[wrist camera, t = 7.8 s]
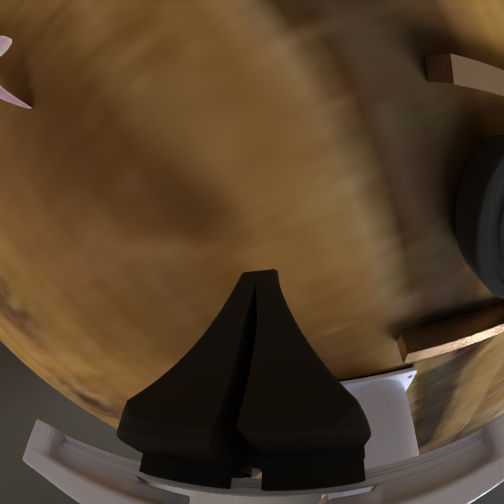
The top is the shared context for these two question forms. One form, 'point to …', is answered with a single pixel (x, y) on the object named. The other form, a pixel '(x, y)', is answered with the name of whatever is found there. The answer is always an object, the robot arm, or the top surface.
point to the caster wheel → (483, 214)
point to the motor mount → (482, 321)
